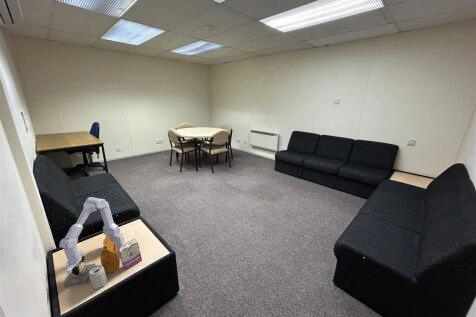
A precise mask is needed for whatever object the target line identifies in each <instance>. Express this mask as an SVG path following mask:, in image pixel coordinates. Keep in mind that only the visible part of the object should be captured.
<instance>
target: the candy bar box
mask: <svg viewBox="0 0 476 317" xmlns="http://www.w3.org/2000/svg"><path fill="white" fill-rule="evenodd" d="M117 249H118V252H119V255H120V263H121V265H122V268H123V269H124V271H127V270H128V269H130V268H132V267H133V266H136V265H137V264H139V263H140V262H142V261H143V258H142V255H141V250H140V245H139V243H138V241H137V240H136V238H132V239H131V240H129V241H127V242H126V243H125V242H124V243H123V245H122V246H120V247H118V248H117Z"/></svg>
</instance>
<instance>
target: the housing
mask: <svg viewBox="0 0 476 317" xmlns="http://www.w3.org/2000/svg"><path fill="white" fill-rule="evenodd" d="M84 266H85V269H86V270H85V272H84V274H83V276H80V277H74V276H73V274H72V273H68V276H67V278H66V279H65V281H64V283H63V286H64V287H65V288H66V287H72V286H73V287H74V286H77V285H85V284H88V283H89V281H90V277H89V271H90V270H91V268H93V267H94V266H97V265H96V263H91V264H89V263H88V264H84Z"/></svg>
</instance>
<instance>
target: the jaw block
mask: <svg viewBox="0 0 476 317" xmlns="http://www.w3.org/2000/svg"><path fill="white" fill-rule="evenodd" d="M84 265H85V264H84V263H83V262H79V263H78V264H77V265H76V266H79V275H77V276H75V275H74V274H73V273H72V274H73V276H74V277H75V278H78V277H83V276H84V274H85V270H86V269H85V266H84Z"/></svg>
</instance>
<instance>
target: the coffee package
mask: <svg viewBox="0 0 476 317" xmlns="http://www.w3.org/2000/svg"><path fill="white" fill-rule="evenodd" d="M109 237H110V236H108V235H107V236H106V235H105V238H104V239H103V242H102V244H103V248H102V250H101V252H100V255H99V259H100V264H101V266H103V267H104V270H105V273H106V275H108V274H111V273H113V272H117V271H119V270H120V265H121V259H120V255H119V252H118V249H117V246H116V244H115V243H113V242H112V241H110V240H109Z"/></svg>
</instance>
